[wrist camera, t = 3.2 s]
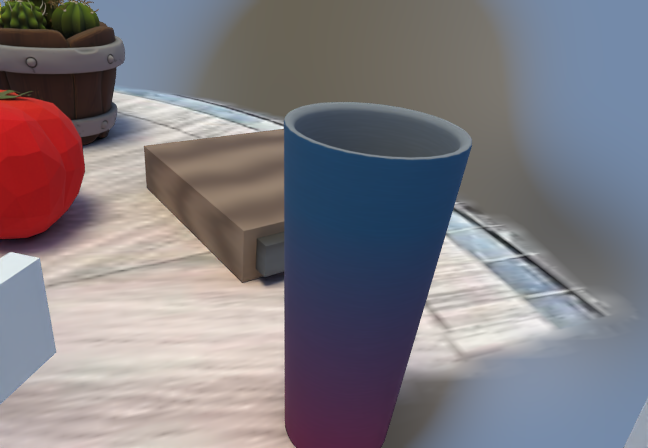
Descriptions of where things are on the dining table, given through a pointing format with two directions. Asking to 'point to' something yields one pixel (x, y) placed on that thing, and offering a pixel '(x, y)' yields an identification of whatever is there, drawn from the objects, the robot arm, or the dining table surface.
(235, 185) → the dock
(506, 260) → the dining table surface
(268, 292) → the dining table surface
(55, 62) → the flowerpot
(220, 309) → the dining table surface
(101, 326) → the dining table surface
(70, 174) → the tomato
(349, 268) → the cup
